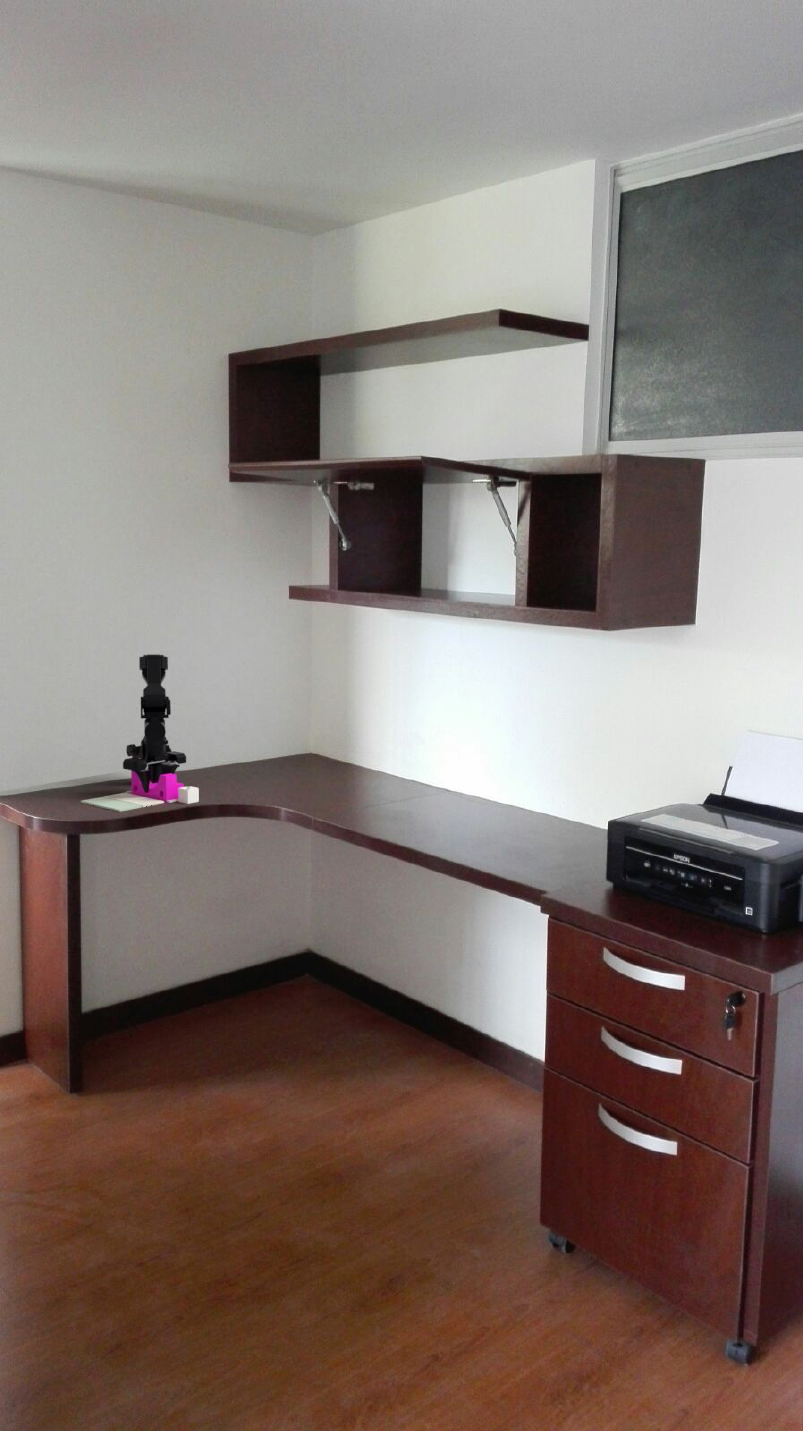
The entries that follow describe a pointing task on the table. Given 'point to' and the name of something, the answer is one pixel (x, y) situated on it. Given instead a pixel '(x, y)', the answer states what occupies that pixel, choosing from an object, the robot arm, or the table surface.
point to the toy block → (157, 787)
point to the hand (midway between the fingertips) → (155, 790)
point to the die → (188, 794)
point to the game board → (124, 801)
